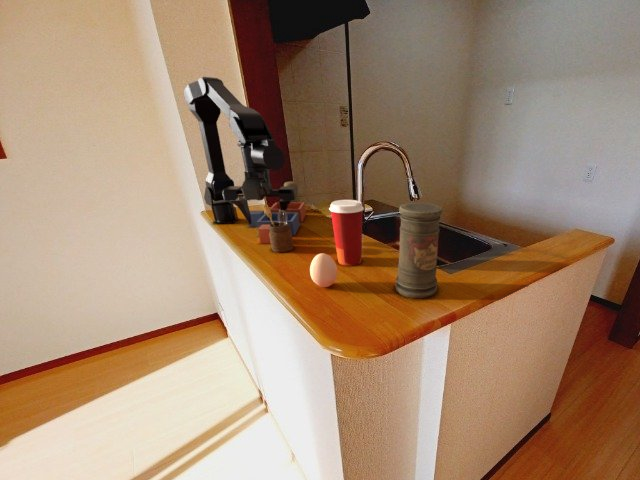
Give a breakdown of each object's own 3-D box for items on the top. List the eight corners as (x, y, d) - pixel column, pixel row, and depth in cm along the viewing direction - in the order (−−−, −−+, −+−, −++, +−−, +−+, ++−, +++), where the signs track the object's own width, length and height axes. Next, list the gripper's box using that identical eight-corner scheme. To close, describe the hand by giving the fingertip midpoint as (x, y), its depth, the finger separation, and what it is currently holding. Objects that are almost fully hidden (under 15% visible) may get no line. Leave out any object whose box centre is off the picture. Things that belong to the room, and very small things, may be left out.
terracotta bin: (271, 222, 112) (268, 209, 109) (277, 214, 121) (275, 202, 119) (301, 222, 113) (300, 209, 111) (306, 214, 122) (304, 202, 120)
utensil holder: (285, 254, 86) (278, 209, 80) (266, 250, 88) (257, 207, 82) (298, 247, 91) (292, 204, 85) (279, 244, 93) (272, 202, 87)
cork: (285, 209, 128) (281, 181, 122) (300, 208, 130) (297, 180, 124) (287, 213, 123) (283, 183, 117) (303, 212, 125) (299, 182, 120)
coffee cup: (370, 257, 86) (368, 200, 78) (358, 269, 79) (355, 208, 71) (341, 253, 88) (337, 197, 80) (327, 265, 81) (321, 205, 73)
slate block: (249, 226, 107) (246, 213, 105) (253, 223, 111) (250, 210, 108) (262, 226, 107) (260, 213, 105) (266, 223, 111) (263, 210, 109)
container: (387, 288, 70) (387, 205, 61) (415, 276, 76) (419, 199, 67) (417, 303, 65) (422, 215, 56) (444, 290, 70) (453, 207, 61)
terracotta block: (260, 243, 93) (257, 229, 91) (264, 238, 97) (261, 224, 95) (276, 243, 94) (273, 228, 91) (279, 238, 97) (276, 224, 95)
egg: (343, 286, 70) (341, 254, 67) (320, 294, 67) (316, 261, 63) (329, 278, 74) (326, 247, 70) (307, 285, 71) (302, 253, 67)
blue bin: (259, 236, 99) (256, 221, 97) (267, 226, 108) (265, 212, 106) (294, 235, 100) (292, 221, 98) (299, 226, 109) (298, 212, 107)
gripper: (206, 170, 77) (223, 232, 85) (286, 170, 79) (295, 231, 87) (223, 164, 87) (236, 221, 94) (293, 165, 89) (301, 220, 96)
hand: (266, 223), depth 93 cm, fingers open, 9 cm apart
